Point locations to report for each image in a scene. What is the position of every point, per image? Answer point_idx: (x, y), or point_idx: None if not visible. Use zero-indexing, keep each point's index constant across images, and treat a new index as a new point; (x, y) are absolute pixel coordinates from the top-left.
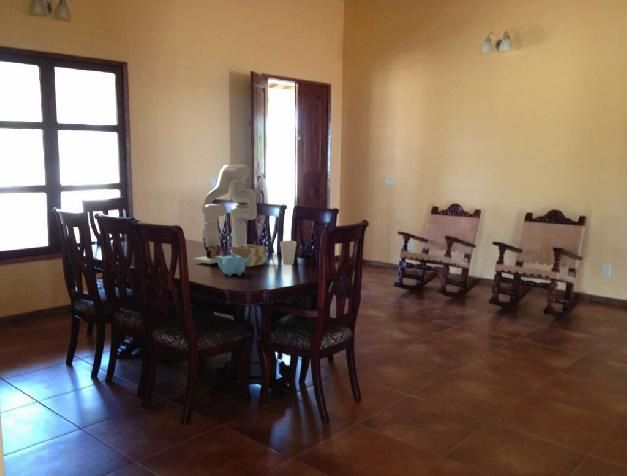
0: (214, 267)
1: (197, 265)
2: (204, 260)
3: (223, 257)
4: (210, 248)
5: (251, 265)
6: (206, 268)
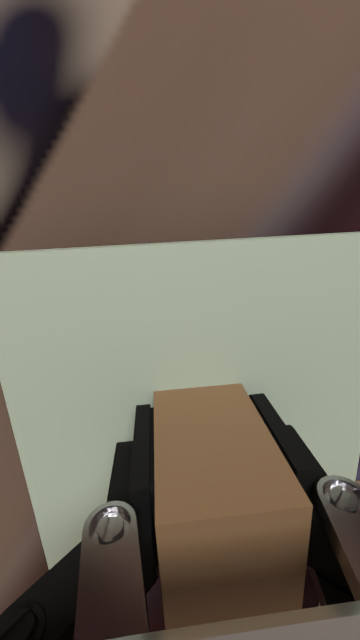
0: None
1: None
2: (31, 488)
3: None
4: (243, 535)
5: None
6: (8, 536)
